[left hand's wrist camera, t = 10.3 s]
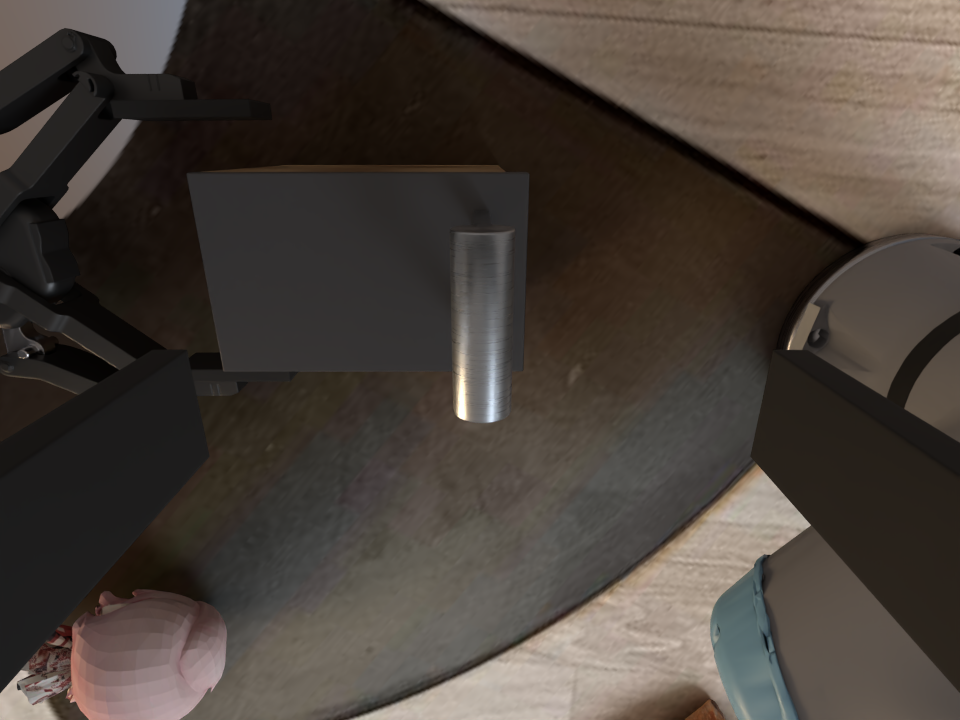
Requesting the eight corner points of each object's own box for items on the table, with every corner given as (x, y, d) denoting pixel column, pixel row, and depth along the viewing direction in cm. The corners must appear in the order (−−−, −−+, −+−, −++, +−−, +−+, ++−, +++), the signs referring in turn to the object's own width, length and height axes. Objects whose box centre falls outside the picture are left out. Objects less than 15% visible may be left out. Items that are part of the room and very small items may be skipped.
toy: (101, 694, 49) (259, 693, 48) (-17, 797, 38) (183, 799, 37) (87, 566, 48) (247, 562, 47) (-36, 634, 38) (167, 631, 36)
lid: (527, 171, 23) (553, 183, 15) (521, 364, 27) (540, 459, 18) (197, 171, 23) (43, 183, 15) (232, 364, 27) (121, 460, 18)
